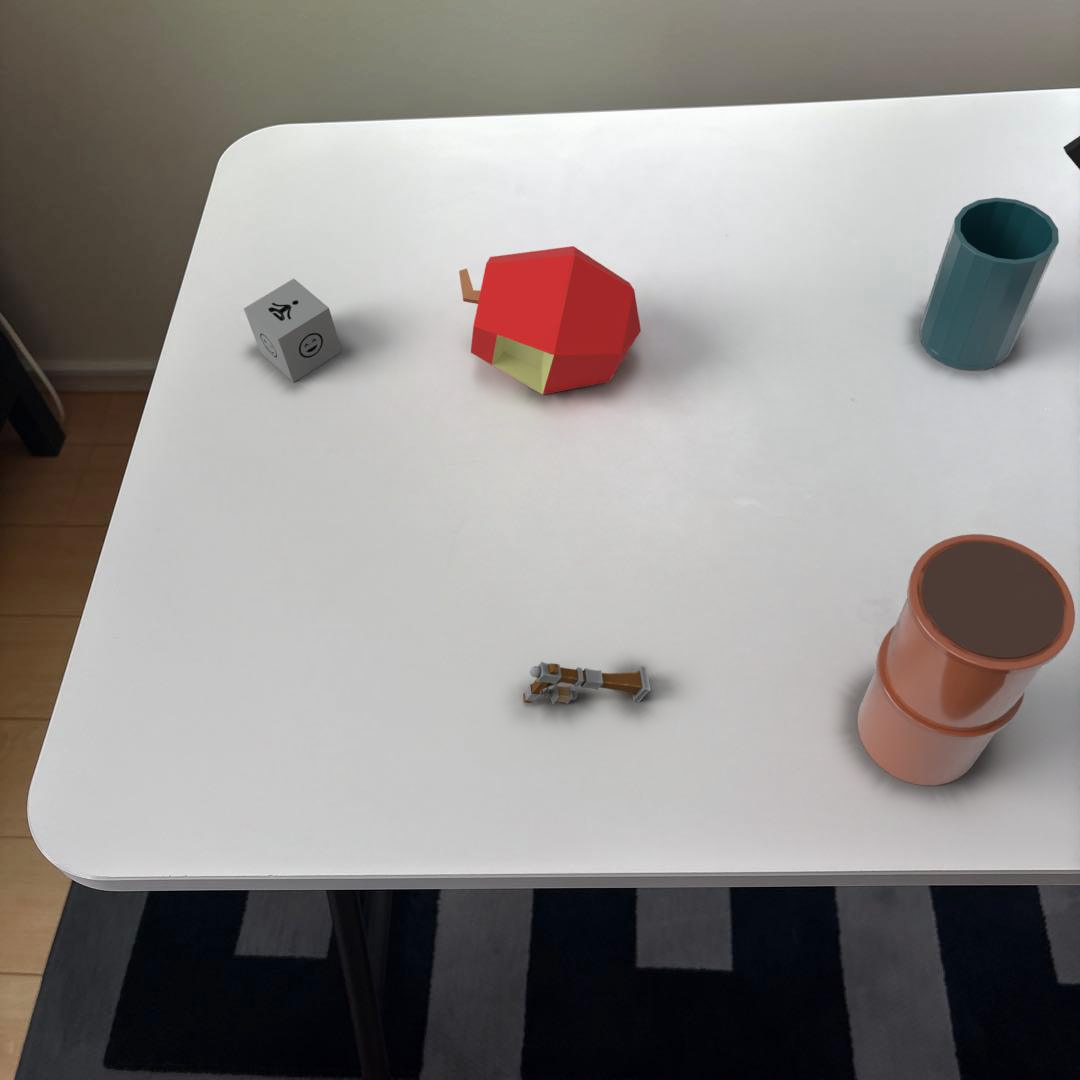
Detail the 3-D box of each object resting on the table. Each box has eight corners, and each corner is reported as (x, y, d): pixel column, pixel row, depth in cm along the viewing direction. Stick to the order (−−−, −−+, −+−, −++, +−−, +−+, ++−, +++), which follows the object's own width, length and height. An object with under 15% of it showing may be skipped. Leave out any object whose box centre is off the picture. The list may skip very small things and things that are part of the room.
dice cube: (260, 352, 91) (243, 308, 87) (308, 322, 92) (293, 278, 88) (293, 382, 88) (278, 339, 84) (341, 351, 90) (328, 307, 86)
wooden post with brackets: (509, 685, 70) (533, 652, 67) (619, 694, 73) (647, 663, 70) (511, 710, 69) (536, 677, 66) (622, 719, 72) (651, 688, 69)
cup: (1011, 376, 84) (1059, 268, 75) (917, 363, 86) (952, 256, 77) (1012, 313, 88) (1057, 203, 79) (921, 301, 90) (956, 192, 81)
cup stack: (984, 803, 65) (1078, 682, 52) (847, 775, 67) (905, 651, 53) (986, 685, 70) (1074, 546, 56) (857, 661, 71) (914, 521, 58)
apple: (618, 436, 85) (433, 397, 84) (629, 335, 92) (459, 298, 91) (656, 324, 75) (448, 279, 75) (665, 222, 83) (476, 179, 82)
